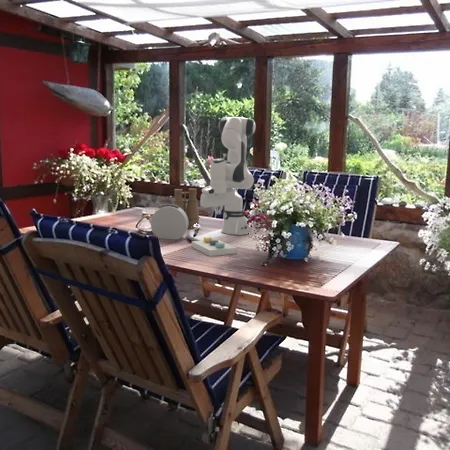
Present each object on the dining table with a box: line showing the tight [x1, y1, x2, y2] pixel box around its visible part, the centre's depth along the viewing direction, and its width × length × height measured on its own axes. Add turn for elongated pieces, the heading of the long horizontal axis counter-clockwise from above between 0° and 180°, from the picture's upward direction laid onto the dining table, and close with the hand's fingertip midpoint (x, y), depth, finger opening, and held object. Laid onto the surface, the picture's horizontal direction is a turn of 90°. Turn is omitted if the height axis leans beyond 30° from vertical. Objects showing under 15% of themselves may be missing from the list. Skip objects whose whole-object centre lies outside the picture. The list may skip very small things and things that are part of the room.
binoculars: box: [172, 187, 201, 229], centre depth 341 cm, size 21×10×25 cm, turn 125°
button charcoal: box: [209, 239, 219, 245], centre depth 285 cm, size 5×5×5 cm
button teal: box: [215, 242, 226, 248], centre depth 279 cm, size 5×5×5 cm
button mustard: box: [203, 236, 213, 242], centre depth 291 cm, size 5×5×5 cm
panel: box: [191, 238, 238, 257], centre depth 285 cm, size 16×22×3 cm
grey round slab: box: [150, 203, 189, 240], centre depth 310 cm, size 21×8×20 cm, turn 84°
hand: (218, 214), depth 287 cm, fingers closed
